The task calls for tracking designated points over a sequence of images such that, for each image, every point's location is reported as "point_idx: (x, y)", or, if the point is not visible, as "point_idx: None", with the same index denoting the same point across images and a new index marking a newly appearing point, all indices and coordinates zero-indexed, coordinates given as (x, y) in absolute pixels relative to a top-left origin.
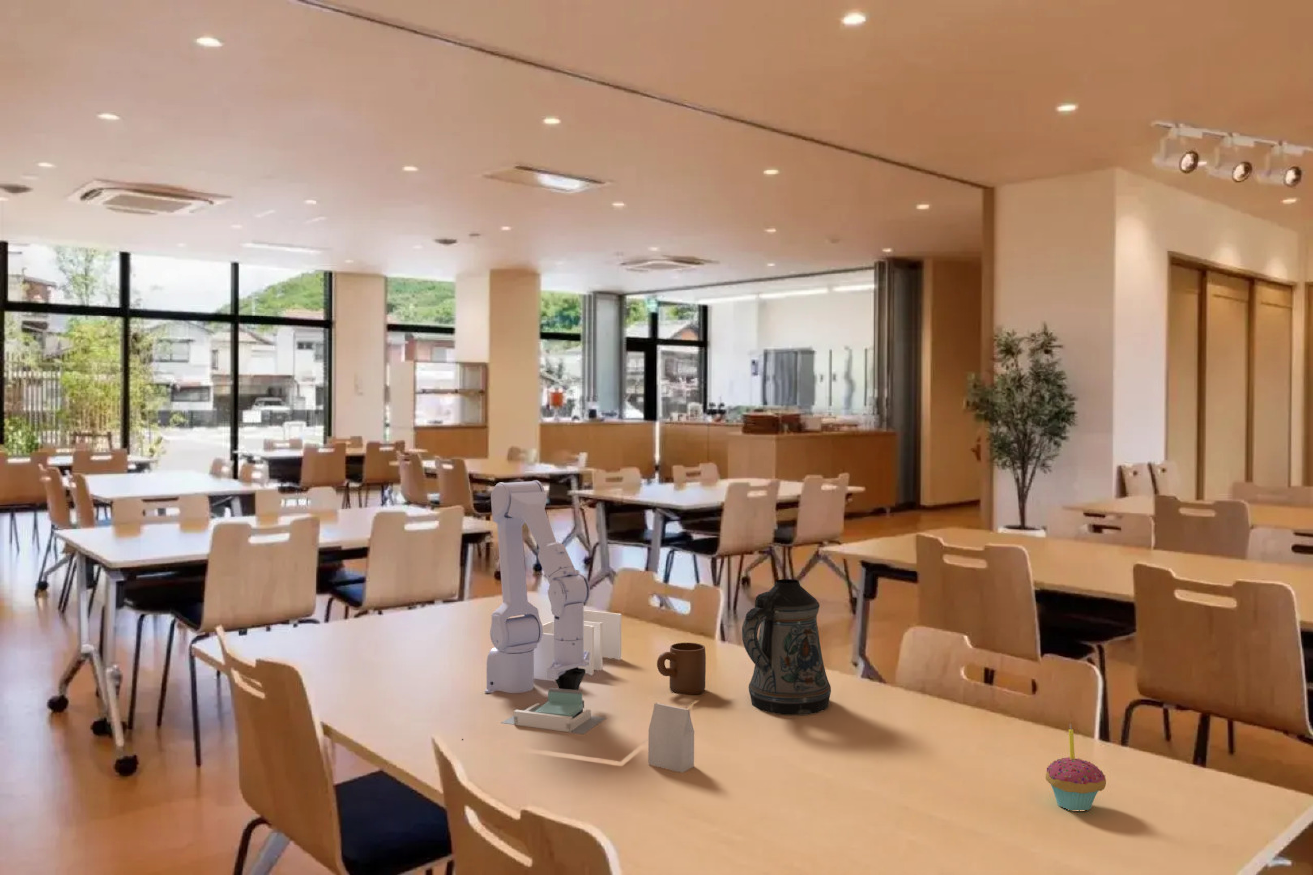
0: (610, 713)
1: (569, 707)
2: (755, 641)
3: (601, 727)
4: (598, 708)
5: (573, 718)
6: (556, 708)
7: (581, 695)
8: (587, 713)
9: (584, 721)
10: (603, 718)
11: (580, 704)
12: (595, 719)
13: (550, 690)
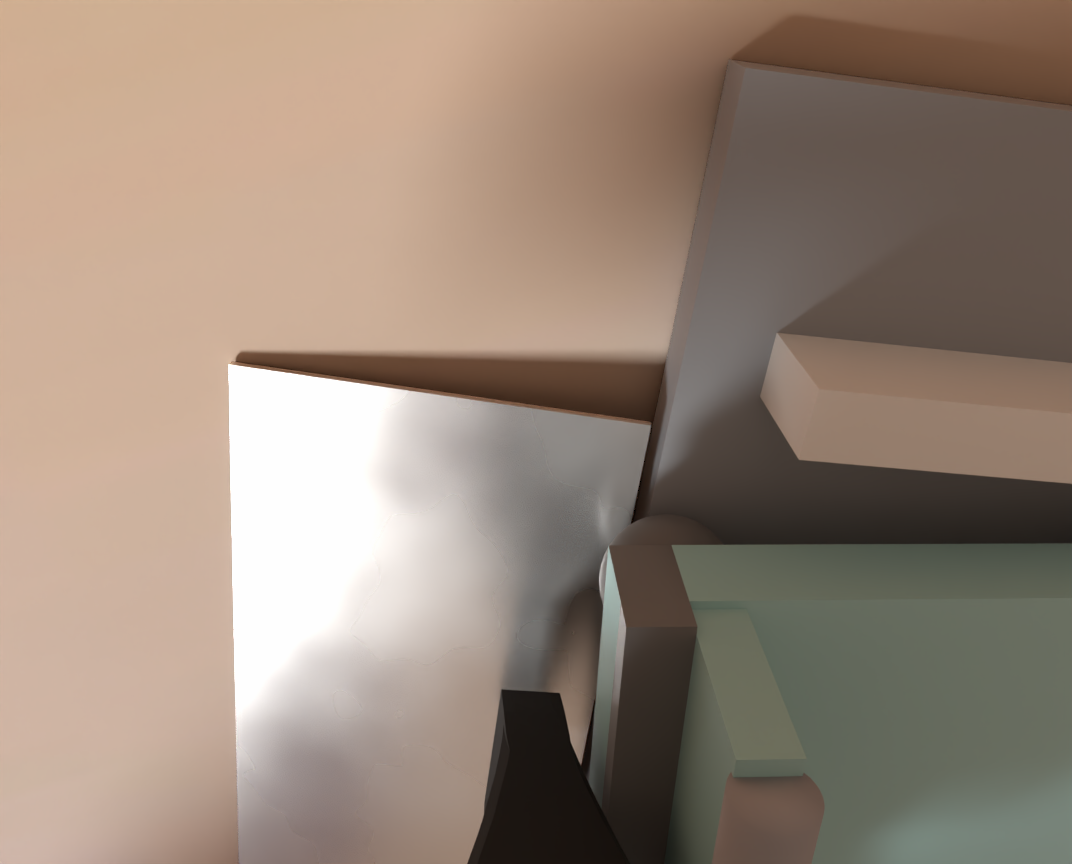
0: (243, 123)
1: (943, 714)
2: None
3: (1043, 41)
4: (74, 401)
5: None
6: (1009, 843)
7: (792, 733)
8: (952, 393)
9: (1018, 361)
10: (791, 103)
11: (751, 620)
12: (862, 229)
13: None
